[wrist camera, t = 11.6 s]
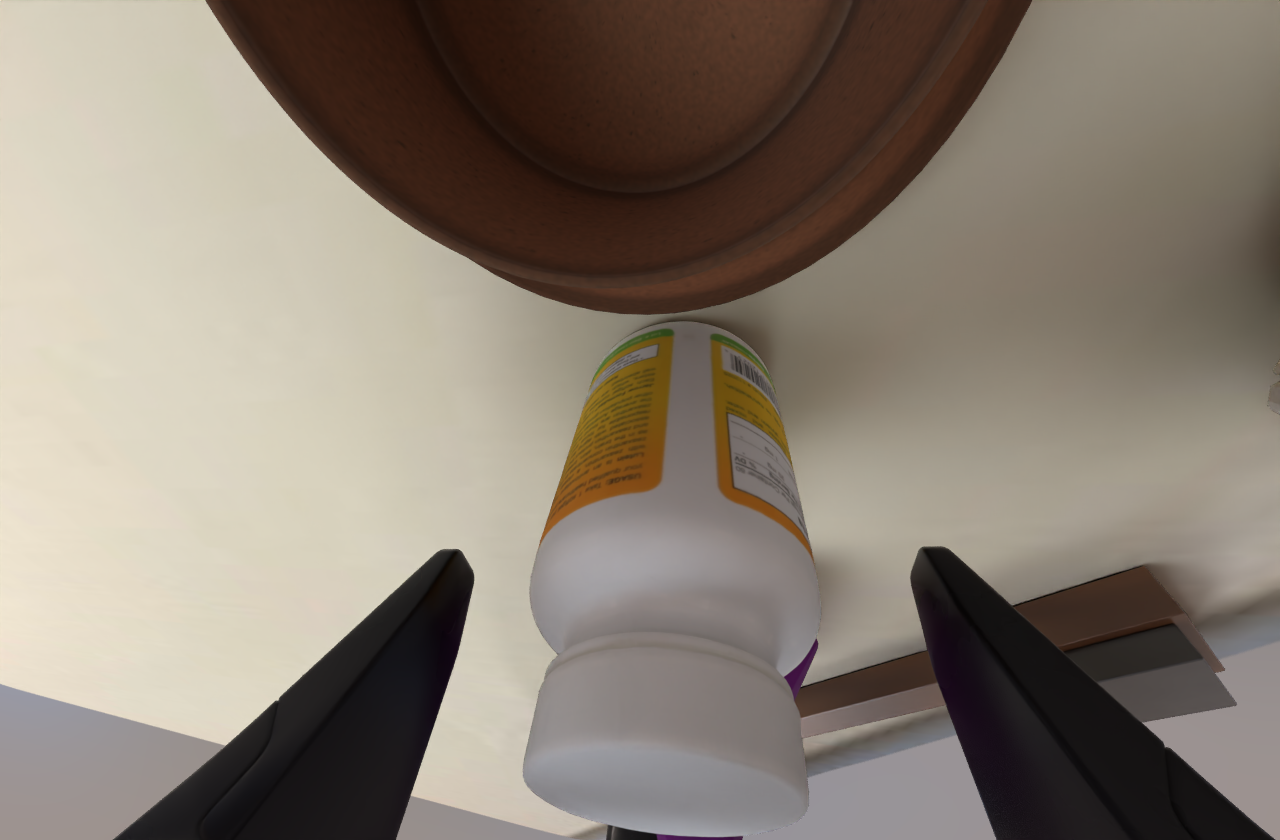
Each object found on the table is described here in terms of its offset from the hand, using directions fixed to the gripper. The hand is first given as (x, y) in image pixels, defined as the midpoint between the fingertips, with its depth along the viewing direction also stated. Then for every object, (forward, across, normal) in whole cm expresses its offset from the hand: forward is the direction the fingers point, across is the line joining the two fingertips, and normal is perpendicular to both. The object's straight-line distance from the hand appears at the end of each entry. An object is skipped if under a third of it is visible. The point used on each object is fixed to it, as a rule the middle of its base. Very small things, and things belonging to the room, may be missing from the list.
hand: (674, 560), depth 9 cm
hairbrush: (+6, -10, +16) cm, 20 cm away
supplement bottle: (+6, 0, 0) cm, 6 cm away
